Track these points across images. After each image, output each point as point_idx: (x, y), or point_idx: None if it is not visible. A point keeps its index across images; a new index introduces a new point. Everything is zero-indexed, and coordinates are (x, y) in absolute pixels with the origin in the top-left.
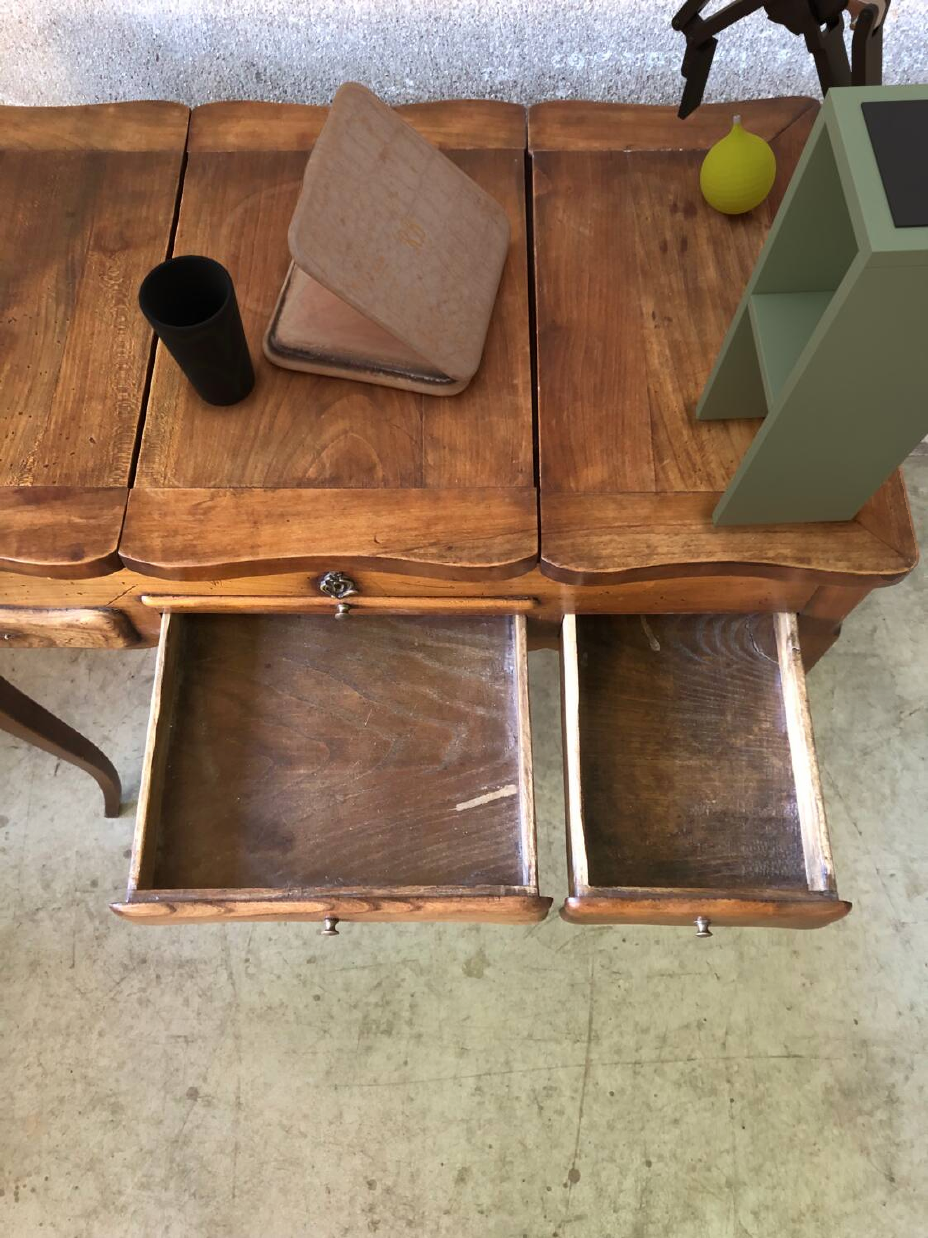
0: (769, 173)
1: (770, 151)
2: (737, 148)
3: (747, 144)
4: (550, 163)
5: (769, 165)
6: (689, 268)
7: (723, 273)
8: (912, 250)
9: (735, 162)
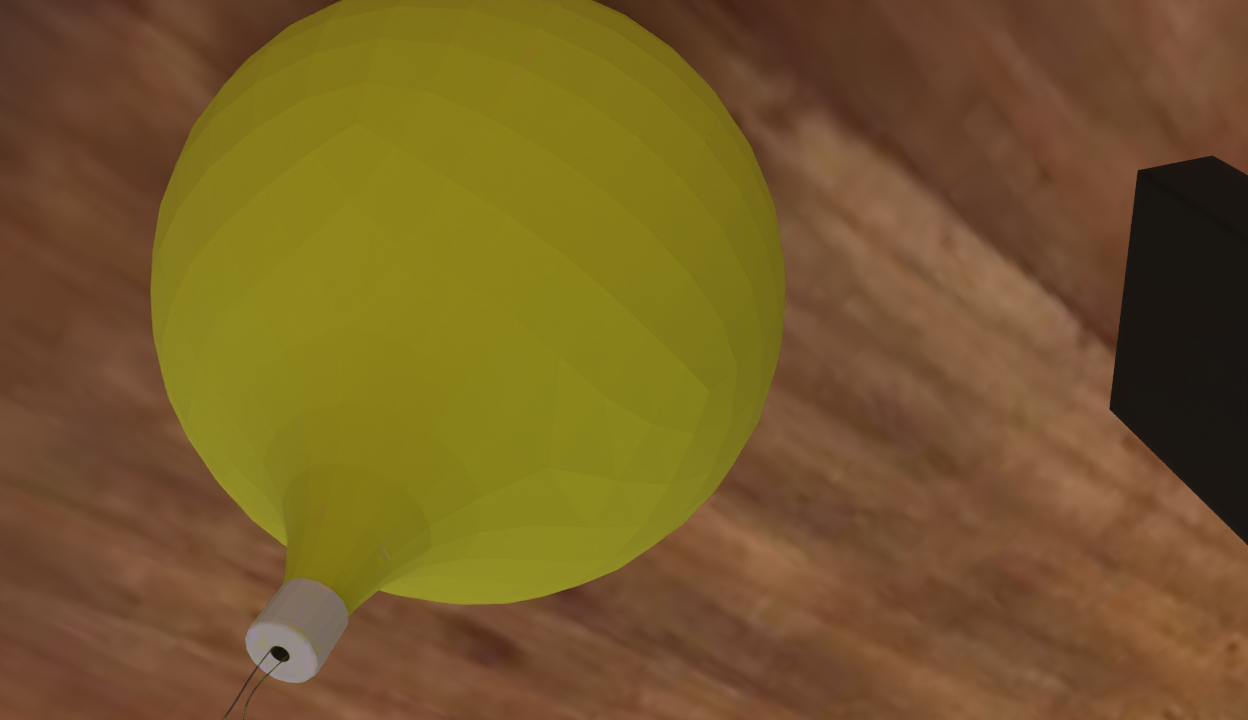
0: (776, 312)
1: (659, 232)
2: (491, 571)
3: (530, 506)
4: None
5: (752, 319)
6: (675, 619)
7: (819, 514)
8: None
9: (560, 583)
